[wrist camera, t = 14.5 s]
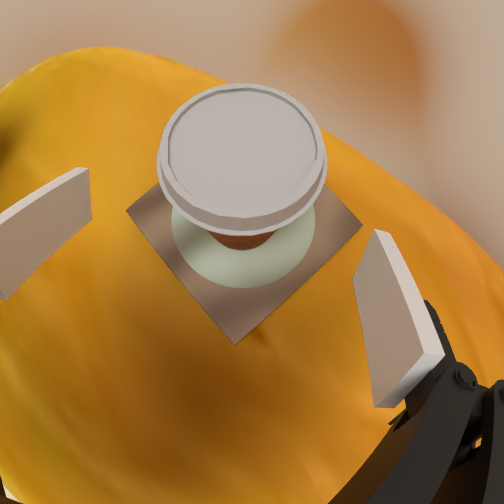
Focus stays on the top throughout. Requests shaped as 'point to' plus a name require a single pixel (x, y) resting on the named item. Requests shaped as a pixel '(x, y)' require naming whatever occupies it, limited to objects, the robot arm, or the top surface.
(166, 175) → the disposable coffee cup
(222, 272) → the coaster
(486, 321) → the top surface
